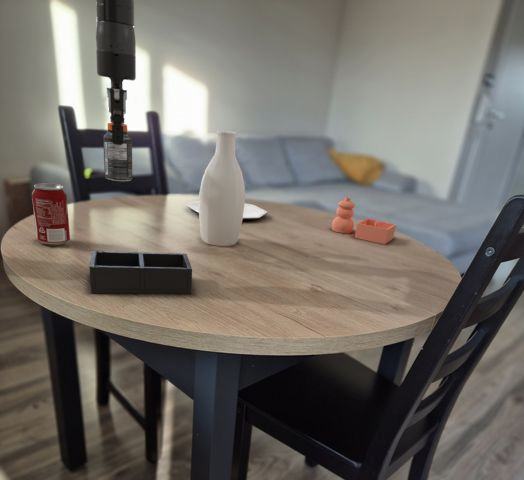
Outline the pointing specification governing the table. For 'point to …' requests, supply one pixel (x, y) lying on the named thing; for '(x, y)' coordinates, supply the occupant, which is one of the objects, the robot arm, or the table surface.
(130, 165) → the pill bottle
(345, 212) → the pottery
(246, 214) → the plate
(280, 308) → the table surface
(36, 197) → the soda can
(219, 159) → the bottle
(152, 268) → the bottle rack
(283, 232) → the table surface
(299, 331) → the table surface
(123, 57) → the robot arm
